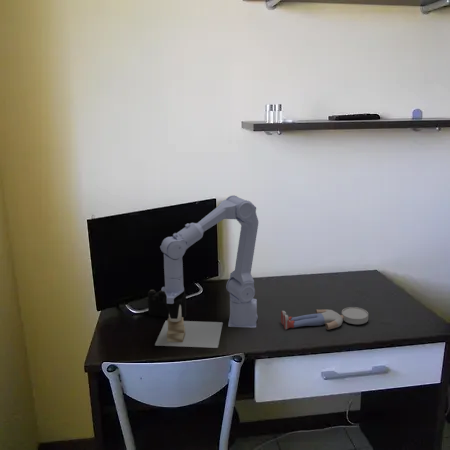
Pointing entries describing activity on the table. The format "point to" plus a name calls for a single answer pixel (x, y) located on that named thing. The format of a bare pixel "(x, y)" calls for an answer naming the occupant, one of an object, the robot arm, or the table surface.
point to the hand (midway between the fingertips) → (175, 315)
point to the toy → (326, 318)
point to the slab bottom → (176, 337)
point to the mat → (194, 335)
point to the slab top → (175, 327)
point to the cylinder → (178, 316)
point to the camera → (162, 304)
